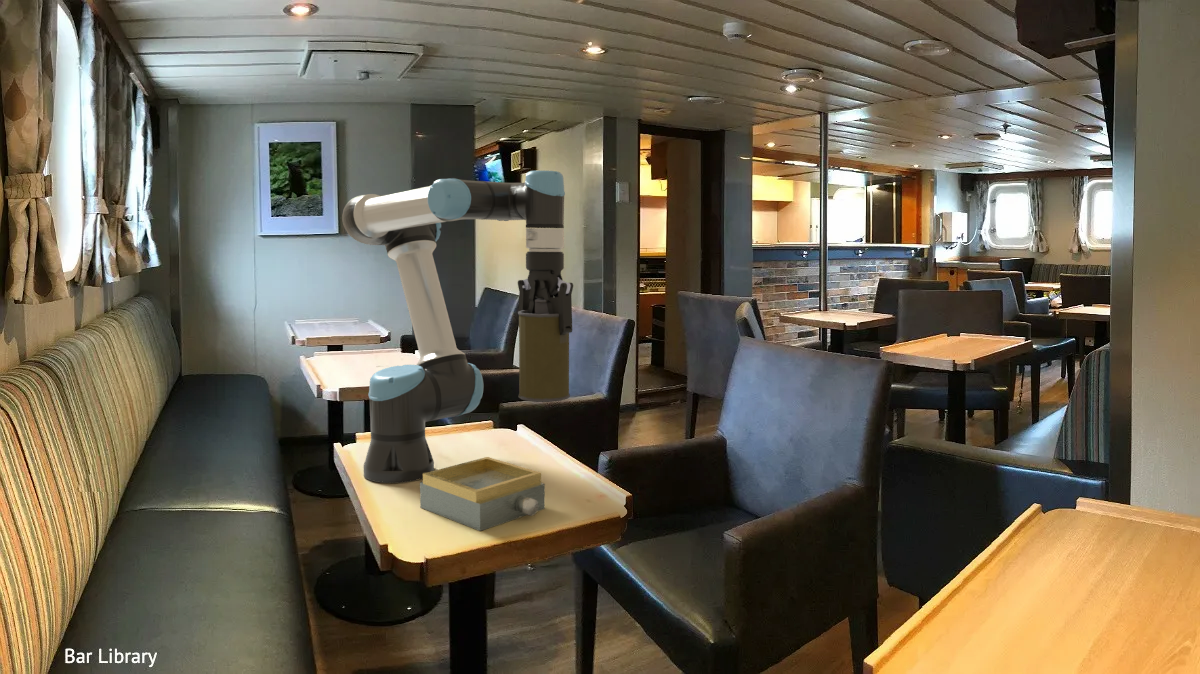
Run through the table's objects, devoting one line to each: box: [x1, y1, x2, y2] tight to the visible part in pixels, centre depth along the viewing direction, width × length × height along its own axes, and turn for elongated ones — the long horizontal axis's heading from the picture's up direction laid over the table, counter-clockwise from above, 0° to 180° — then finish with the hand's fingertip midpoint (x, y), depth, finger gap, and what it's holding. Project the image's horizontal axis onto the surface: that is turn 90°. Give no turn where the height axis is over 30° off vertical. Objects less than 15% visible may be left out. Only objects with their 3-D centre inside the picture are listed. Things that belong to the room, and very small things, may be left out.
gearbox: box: [419, 456, 546, 532], centre depth 152 cm, size 21×16×7 cm
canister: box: [517, 298, 571, 403], centre depth 160 cm, size 11×10×20 cm
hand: (544, 365), depth 160 cm, fingers open, 6 cm apart
